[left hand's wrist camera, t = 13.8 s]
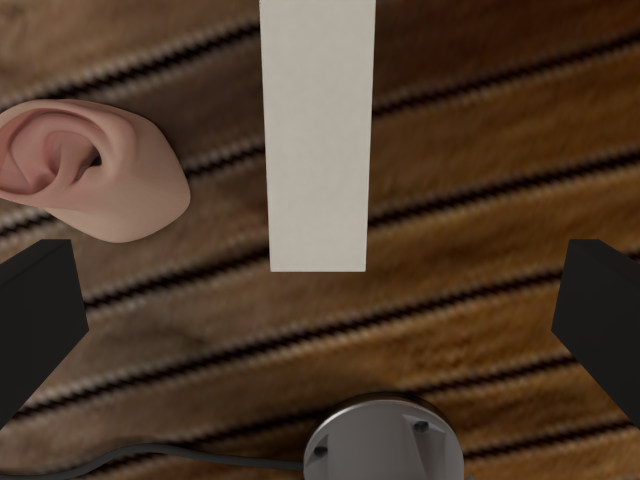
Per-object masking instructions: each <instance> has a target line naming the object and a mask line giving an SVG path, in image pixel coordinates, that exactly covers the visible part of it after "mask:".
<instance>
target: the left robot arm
mask: <svg viewBox="0 0 640 480" xmlns="http://www.w3.org/2000/svg"><path fill="white" fill-rule="evenodd" d="M88 331H89V328H88V323H87V318H86V313H85V308H84V303H83V298H82V294H81V289H80V284H79V279H78V274H77V269H76V264H75V259H74V254H73V249H72V244H71V240H70V239H41V240H40V241H38V242H36V243H35V244H33V245H31V246H30V247H28V248H26V249H25V250H23V251H21V252H20V253H18V254H16V255H15V256H13V257H12V258H10V259H8V260H7V261H5V262H3V263H2V264H0V430H1V429H2V428H3V427H4V426H5V424H6V423H7V422H8V421H9V420H10V419H11V418H12V417H13V415H14V414H15V413H16V412H17V411H18V410H19V409H20V408H21V406H22V405H23V404H24V403H25V402H26V401H27V400H28V399H29V397H30V396H31V395H32V394H33V393H34V392H35V391H36V390H37V388H38V387H39V386H40V385H41V384H42V383H43V382H44V381H45V379H46V378H47V377H48V376H49V375H50V374H51V373H52V372H53V370H54V369H55V368H56V367H57V366H58V365H59V364H60V362H61V361H62V360H63V359H64V358H65V357H66V356H67V355H68V353H69V352H70V351H71V350H72V349H73V348H74V347H75V346H76V344H77V343H78V342H79V341H80V340H81V339H82V338H83V337H84V335H85V334H86V333H87V332H88ZM551 331H552V332H553V333H554V334H555V335H556V337H557V338H558V339H559V340H560V341H561V342H562V343H563V344H564V346H565V347H566V348H567V349H568V350H569V351H570V352H571V353H572V355H573V356H574V357H575V358H576V359H577V360H578V361H579V362H580V364H581V365H582V366H583V367H584V368H585V369H586V370H587V372H588V373H589V374H590V375H591V376H592V377H593V378H594V379H595V381H596V382H597V383H598V384H599V385H600V386H601V387H602V388H603V390H604V391H605V392H606V393H607V394H608V395H609V396H610V397H611V399H612V400H613V401H614V402H615V403H616V404H617V405H618V406H619V408H620V409H621V410H622V411H623V412H624V413H625V414H626V415H627V417H628V418H629V419H630V420H631V421H632V422H633V423H634V424H635V426H636V427H637V428H638V429H639V430H640V264H638V263H637V262H635V261H633V260H632V259H630V258H628V257H627V256H625V255H624V254H622V253H620V252H619V251H617V250H615V249H614V248H612V247H610V246H609V245H607V244H605V243H604V242H602V241H600V240H599V239H569V244H568V249H567V254H566V259H565V264H564V269H563V274H562V279H561V284H560V289H559V294H558V298H557V303H556V308H555V313H554V318H553V323H552V328H551ZM137 452H158V453H166V454H172V455H177V456H181V457H186V458H190V459H195V460H201V461H206V462H214V463H223V464H232V465H241V466H252V467H262V468H273V469H284V470H295V471H303V473H304V478H305V480H475V479H474V477H473V474H471V475H470V476H468V477H467V478H465V479H464V461H463V454H462V449H461V446H460V443H459V440H458V438H457V435H456V432H455V430H454V428H453V426H452V424H451V423H450V421H449V420H448V419H447V418H446V417H445V415H444V414H443V413H441V412H440V411H439V410H438V409H437V408H435V407H434V406H432V405H431V404H429V403H427V402H425V401H423V400H421V399H418V398H416V397H413V396H409V395H405V394H400V393H387V392H381V393H370V394H365V395H360V396H357V397H353V398H350V399H348V400H345V401H343V402H341V403H339V404H337V405H336V406H334V407H333V408H331V409H330V410H328V411H327V412H326V413H325V414H323V415H322V416H321V417H320V418H319V419H318V421H317V422H316V423H315V424H314V426H313V427H312V429H311V430H310V432H309V434H308V436H307V439H306V442H305V446H304V456H303V462H296V461H284V460H273V459H262V458H251V457H241V456H231V455H222V454H213V453H207V452H201V451H196V450H191V449H187V448H182V447H177V446H172V445H166V444H156V443H142V444H133V445H128V446H124V447H120V448H117V449H114V450H112V451H110V452H108V453H106V454H104V455H102V456H100V457H98V458H97V459H95V460H93V461H91V462H89V463H87V464H85V465H83V466H81V467H79V468H75V469H72V470H68V471H63V472H57V473H50V474H43V475H6V474H0V480H65V479H69V478H73V477H76V476H80V475H82V474H85V473H87V472H89V471H91V470H93V469H95V468H97V467H99V466H101V465H102V464H104V463H106V462H108V461H110V460H112V459H114V458H116V457H119V456H122V455H125V454H130V453H137Z"/></svg>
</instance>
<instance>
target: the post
mask: <svg viewBox="0 0 640 480" xmlns="http://www.w3.org/2000/svg"><path fill="white" fill-rule="evenodd" d="M259 3H260V27H261V51H262V75H263V99H264V123H265V148H266V172H267V196H268V220H269V244H270V268H271V271H365V267H366V241H367V215H368V188H369V162H370V136H371V109H372V83H373V57H374V30H375V4H376V0H259Z"/></svg>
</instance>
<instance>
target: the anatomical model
mask: <svg viewBox="0 0 640 480" xmlns="http://www.w3.org/2000/svg"><path fill="white" fill-rule="evenodd" d="M0 197H1V198H3V199H6V200H10V201H13V202H16V203H20V204H25V205H30V206H36V207H41V208H42V209H44V210H45V211H47V212H49V213H50V214H52V215H53V216H55V217H57V218H58V219H60V220H62V221H64V222H65V223H67V224H69V225H71V226H72V227H74V228H76V229H78V230H80V231H82V232H84V233H86V234H88V235H90V236H92V237H95V238H98V239H100V240H104V241H108V242H114V243H122V242H129V241H134V240H137V239H141V238H143V237H146V236H148V235H150V234H153V233H154V232H156V231H158V230H160V229H162V228H163V227H165V226H167V225H168V224H170V223H171V222H173V221H174V220H175V219H177V218H178V217H179V216H180V215H181V214H183V213H184V211H185V210H186V209H187V207H188V205H189V203H190V198H191V196H190V189H189V186H188V183H187V180H186V177H185V175H184V173H183V170H182V168H181V166H180V163H179V161H178V159H177V157H176V155H175V153H174V151H173V150H172V148H171V146H170V145H169V143H168V142H167V140H166V138H165V137H164V135H163V134H162V132H161V131H160V130H159V129H158V128H157V127H156V126H155V125H154V124H153V123H152V122H150V121H149V120H147V119H145V118H143V117H141V116H139V115H137V114H134V113H131V112H128V111H125V110H122V109H119V108H115V107H112V106H108V105H104V104H100V103H96V102H91V101H85V100H75V99H61V100H52V99H41V100H32V101H28V102H24V103H21V104H18V105H16V106H14V107H12V108H10V109H8V110H6V111H4V112H3V113H1V114H0Z"/></svg>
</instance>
